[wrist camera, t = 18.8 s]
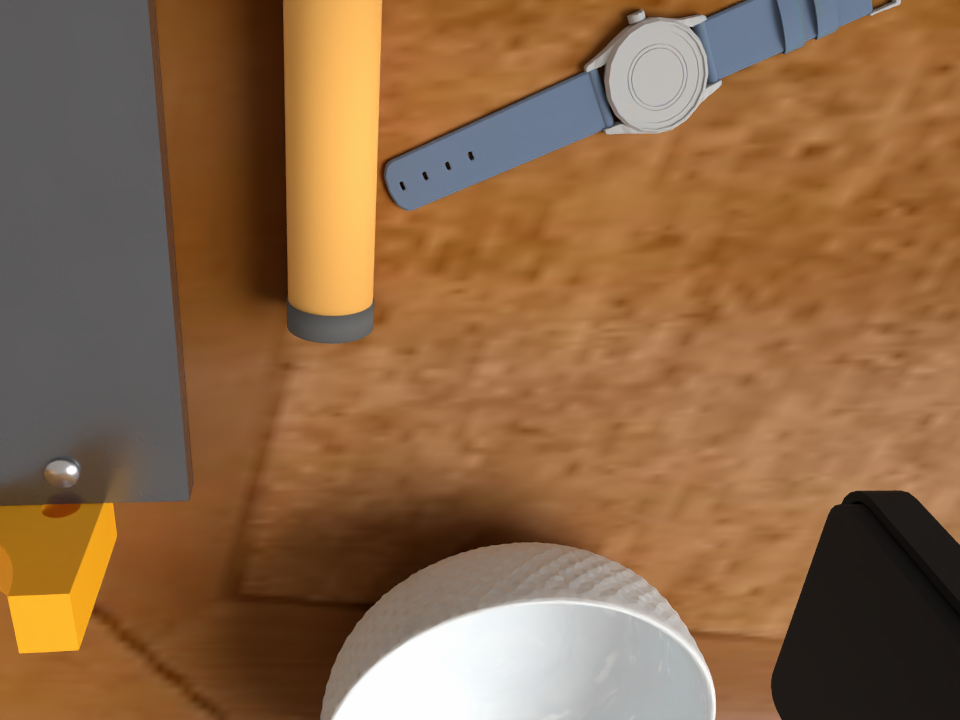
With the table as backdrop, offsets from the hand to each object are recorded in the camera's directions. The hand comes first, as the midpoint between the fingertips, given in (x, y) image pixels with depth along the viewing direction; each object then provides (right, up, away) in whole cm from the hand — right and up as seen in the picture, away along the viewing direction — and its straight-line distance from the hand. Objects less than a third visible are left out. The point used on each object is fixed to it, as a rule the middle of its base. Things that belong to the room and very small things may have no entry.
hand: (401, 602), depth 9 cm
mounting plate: (-14, +7, +20) cm, 26 cm away
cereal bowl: (+2, -10, +33) cm, 34 cm away
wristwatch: (+7, +13, +22) cm, 26 cm away
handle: (-4, +11, +20) cm, 23 cm away
